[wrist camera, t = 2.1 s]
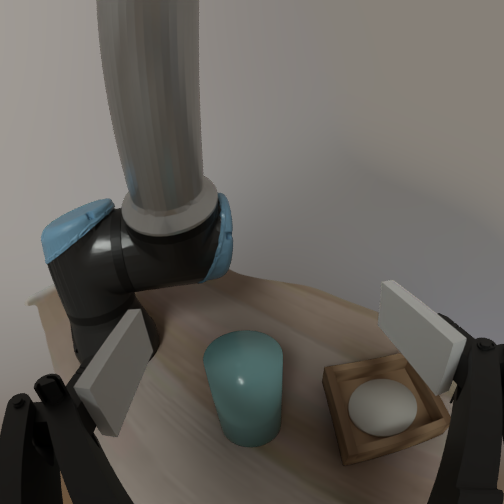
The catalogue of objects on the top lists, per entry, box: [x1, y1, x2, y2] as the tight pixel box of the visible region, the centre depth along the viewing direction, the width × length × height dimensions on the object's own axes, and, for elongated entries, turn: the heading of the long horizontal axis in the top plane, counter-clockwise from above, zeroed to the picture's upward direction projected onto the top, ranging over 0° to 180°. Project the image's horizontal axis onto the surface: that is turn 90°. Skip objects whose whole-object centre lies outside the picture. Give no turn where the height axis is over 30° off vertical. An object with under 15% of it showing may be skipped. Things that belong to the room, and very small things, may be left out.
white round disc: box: [348, 379, 417, 437], centre depth 27 cm, size 9×9×1 cm
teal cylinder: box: [203, 330, 283, 447], centre depth 26 cm, size 7×7×12 cm
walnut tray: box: [322, 353, 451, 466], centre depth 27 cm, size 13×13×3 cm
